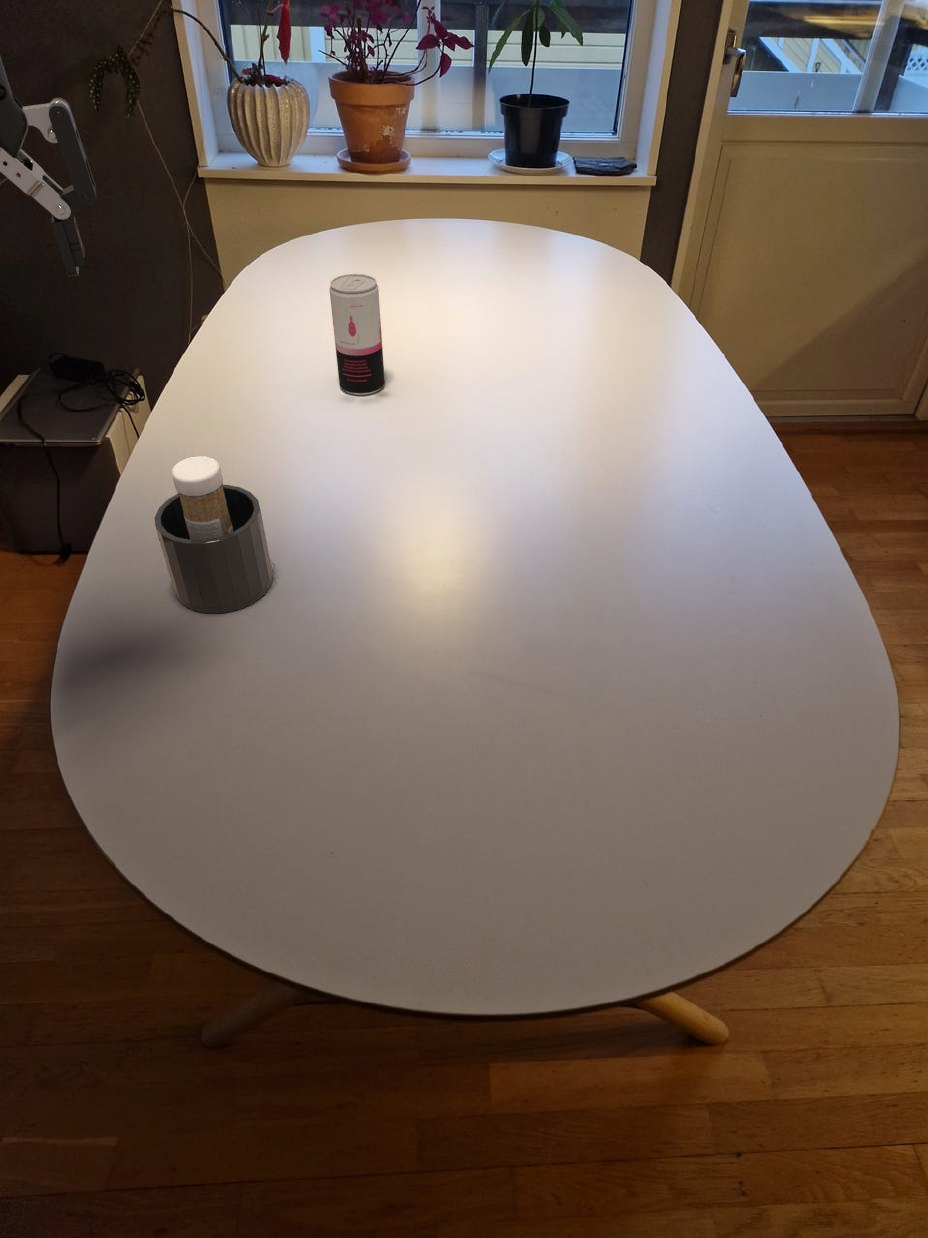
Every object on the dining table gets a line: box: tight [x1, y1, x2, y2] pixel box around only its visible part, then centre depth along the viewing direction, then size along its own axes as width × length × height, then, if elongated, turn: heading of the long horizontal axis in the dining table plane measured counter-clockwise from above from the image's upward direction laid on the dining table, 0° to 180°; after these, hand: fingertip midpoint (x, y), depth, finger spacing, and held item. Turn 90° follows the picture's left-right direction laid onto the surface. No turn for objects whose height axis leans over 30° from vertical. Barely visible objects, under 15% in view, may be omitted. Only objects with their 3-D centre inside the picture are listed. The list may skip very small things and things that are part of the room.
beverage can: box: [329, 273, 386, 396], centre depth 120 cm, size 7×6×15 cm
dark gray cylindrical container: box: [154, 484, 274, 615], centre depth 89 cm, size 10×10×9 cm
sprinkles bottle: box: [171, 455, 234, 540], centre depth 87 cm, size 5×5×13 cm
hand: (8, 279), depth 60 cm, fingers open, 8 cm apart
